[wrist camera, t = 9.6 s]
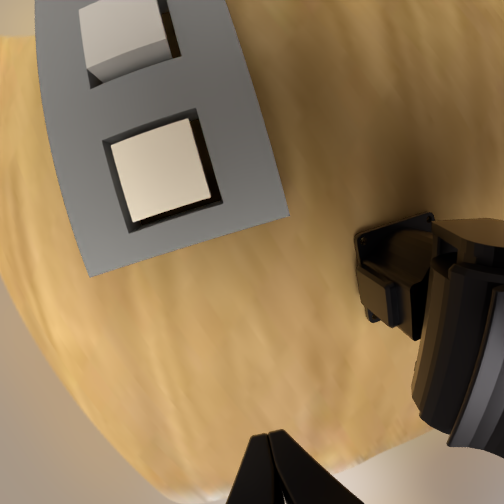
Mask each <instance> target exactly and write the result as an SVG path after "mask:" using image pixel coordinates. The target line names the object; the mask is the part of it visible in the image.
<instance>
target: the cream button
mask: <svg viewBox="0 0 504 504" xmlns="http://www.w3.org/2000/svg"><path fill="white" fill-rule="evenodd" d="M111 149H112V152H113V156H114V160H115V164H116V167H117V171H118V175H119V178H120V182H121V185H122V189H123V192H124V195H125V199H126V202H127V205H128V208H129V212H130V215H131V218H132V221H133V222H136V221H139V220H141V219H144V218H147V217H150V216H153V215H156V214H159V213H162V212H165V211H169V210H172V209H175V208H178V207H181V206H184V205H187V204H190V203H194V202H197V201H200V200H203V199H207V198H210V197H211V192H210V188H209V185H208V182H207V178H206V175H205V171H204V168H203V164H202V161H201V157H200V154H199V150H198V147H197V143H196V140H195V136H194V133H193V129H192V127H191V124H190V122H189V119H188V118H187V119H184V120H181V121H178V122H174V123H171V124H168V125H165V126H162V127H159V128H156V129H153V130H150V131H148V132H145V133H142V134H139V135H136V136H134V137H131V138H128V139H126V140H123V141H121V142H118V143H115V144H113V145H111Z"/></svg>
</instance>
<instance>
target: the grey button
mask: <svg viewBox="0 0 504 504" xmlns="http://www.w3.org/2000/svg"><path fill="white" fill-rule="evenodd" d="M79 18H80V26H81V34H82V42H83V49H84V55H85V61H86V67H87V69H88V70H89V71H90V72H91V73H92V74H94V75H95V76H96V77H97V78H98V79H100V80H101V81H102V82H103V83H106V82H109V81H111V80H114V79H116V78H119V77H121V76H124V75H126V74H129V73H132V72H135V71H137V70H140V69H143V68H146V67H149V66H152V65H155V64H158V63H161V62H164V61H167V60H170V59H173V58H172V54H171V50H170V47H169V43H168V39H167V35H166V31H165V27H164V24H163V20H162V16H161V12H160V8H159V5H158V1H157V0H100V1H97V2H95V3H93V4H90V5H88V6H86V7H84V8H81V9H79Z"/></svg>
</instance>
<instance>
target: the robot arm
mask: <svg viewBox="0 0 504 504" xmlns="http://www.w3.org/2000/svg"><path fill="white" fill-rule="evenodd" d="M427 217H429V219H428V221H427ZM363 237H364V243H362V244H361V243H360V240H361V238H363ZM354 243H355V249H356V254H357V260H358V267H357V269H356V273H357V279H358V285H359V292H360V298H361V303H362V304H363V305H364V306H365V311H366V317H367V319H368V320H369V321H370V322H371V323H375V322H378V321H380V320H382V321H383V322H384V323H385V324H386V325H387V326H389V327H391V328H394V327H396V326H397V327H398V328H399V329H401V330H402V331H403V332H404V333H405V334H406V335H408V336H409V337H410V338H411V339H412V340H414V341H417V340H419V339H421V341H420V346H419V351H418V357H417V361H416V363H415V368H414V376H413V380H412V384H411V389H412V398H413V400H414V402H415V404H416V405H417V407H418V409H419V410H420V413H419V416H420V418H421V419H422V420H423V421H425V422H426V423H427V424H428V425H429V426H431V427H433V428H435V429H437V430H439V431H441V432H443V433H446V434H449V435H450V436H449V439H448V441H447V446H449V447H470V448H475V449H481V450H485V451H487V452H490V453H493V454H495V455H498V456H500V457H502V458H504V221H503V220H497V219H491V218H478V219H460V220H443V221H435V219H434V215H433V214H432V213H431V212H423V213H420V214H417V215H413V216H410V217H407V218H404V219H401V220H398V221H395V222H392V223H388V224H385V225H382V226H379V227H376V228H373V229H370V230H366V231H363V232H360V233H358V234H357V235H356V236H355V239H354ZM373 314H375V316H374V317H372V315H373ZM283 495H284V496H283ZM284 498H285V500H284ZM285 502H286V504H364V503H363V502H362V501H361V500H360V499H358V498H357V497H356V496H355V495H354V494H353V493H351V492H350V491H349V490H348V489H347V488H346V487H344V486H343V485H342V484H341V483H340V482H339V481H338V480H337V479H335V478H334V477H333V476H332V475H331V474H330V473H329V472H328V471H327V470H325V469H324V468H323V467H322V466H321V465H320V464H319V463H318V462H317V461H316V460H315V459H314V458H313V457H312V456H310V455H309V454H308V453H307V452H306V451H305V450H304V449H303V448H302V447H301V446H300V445H299V444H298V443H297V442H296V441H295V440H294V439H293V438H292V437H291V436H290V435H289V434H288V433H287V432H286V431H285V430H283V429H280V430H275V431H271V432H269V433H268V435H267V434H266V433H262V434H258V435H253V436H251V438H250V440H249V443H248V445H247V448H246V451H245V454H244V457H243V459H242V462H241V465H240V467H239V470H238V473H237V476H236V478H235V481H234V483H233V486H232V489H231V491H230V494H229V496H228V499H227V502H226V504H285Z"/></svg>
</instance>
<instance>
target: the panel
mask: <svg viewBox="0 0 504 504" xmlns="http://www.w3.org/2000/svg"><path fill="white" fill-rule="evenodd" d="M97 1H100V0H35V36H36V52H37V64H38V74H39V83H40V91H41V98H42V105H43V111H44V117H45V123H46V128H47V133H48V138H49V143H50V148H51V153H52V157H53V162H54V166H55V170H56V174H57V178H58V182H59V186H60V189H61V193H62V197H63V200H64V204H65V207H66V210H67V214H68V217H69V220H70V223H71V227H72V230H73V233H74V236H75V239H76V242H77V245H78V248H79V250H80V253H81V256H82V259H83V261H84V264H85V267H86V270H87V272H88V275H89V277H93V276H96V275H99V274H103V273H106V272H109V271H112V270H115V269H118V268H121V267H124V266H127V265H130V264H133V263H137V262H140V261H143V260H146V259H149V258H152V257H155V256H159V255H162V254H165V253H168V252H171V251H175V250H178V249H181V248H184V247H187V246H191V245H194V244H197V243H200V242H204V241H207V240H210V239H214V238H217V237H220V236H224V235H227V234H230V233H233V232H237V231H240V230H244V229H247V228H250V227H254V226H257V225H260V224H264V223H267V222H271V221H274V220H278V219H281V218H284V217H288V216H290V214H289V210H288V206H287V202H286V199H285V195H284V191H283V187H282V184H281V180H280V176H279V173H278V169H277V165H276V162H275V158H274V155H273V151H272V147H271V144H270V140H269V137H268V134H267V130H266V127H265V123H264V120H263V116H262V113H261V110H260V106H259V103H258V100H257V96H256V93H255V90H254V87H253V83H252V80H251V77H250V74H249V71H248V67H247V64H246V61H245V58H244V55H243V52H242V49H241V46H240V43H239V40H238V37H237V34H236V31H235V28H234V25H233V22H232V19H231V16H230V13H229V10H228V7H227V4H226V2H225V0H157V1H158V5H159V8H160V12H161V14H162V13H166V12H169V13H170V17H171V20H172V24H173V28H174V31H175V35H176V39H177V43H178V46H179V50H180V54H181V56H180V57H177V58H174V59H170V60H167V61H164V62H161V63H158V64H155V65H152V66H149V67H146V68H143V69H140V70H137V71H135V72H132V73H129V74H126V75H124V76H121V77H119V78H116V79H114V80H111V81H109V82H106V83H103V82H102V81H101V80H100V79H98V78H97V77H96V76H95V75H94V74H92V73H91V72H90V71H89V70H88V69H87V67H86V61H85V55H84V49H83V42H82V34H81V26H80V18H79V9H81V8H84V7H86V6H88V5H90V4H93V3H95V2H97ZM187 118H188V119H189V121H193V120H196V119H199V122H200V125H201V129H202V132H203V136H204V139H205V143H206V146H207V150H208V153H209V157H210V160H211V164H212V167H213V171H214V174H215V178H216V181H217V184H218V188H219V191H220V195H221V198H222V200H220V201H217V202H214V203H210V204H207V205H204V206H200V207H197V208H194V209H191V210H188V211H184V212H181V213H178V214H175V215H172V216H169V217H166V218H163V219H160V220H157V221H154V222H151V223H148V224H145V225H142V226H141V222H140V220H139V221H136V222H133V221H132V218H131V215H130V212H129V208H128V205H127V202H126V199H125V195H124V192H123V189H122V185H121V182H120V178H119V175H118V171H117V167H116V164H115V160H114V156H113V152H112V149H111V145H113V144H115V143H118V142H121V141H123V140H126V139H128V138H131V137H134V136H136V135H139V134H142V133H145V132H148V131H150V130H153V129H156V128H159V127H162V126H165V125H168V124H171V123H174V122H178V121H181V120H184V119H187Z"/></svg>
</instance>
